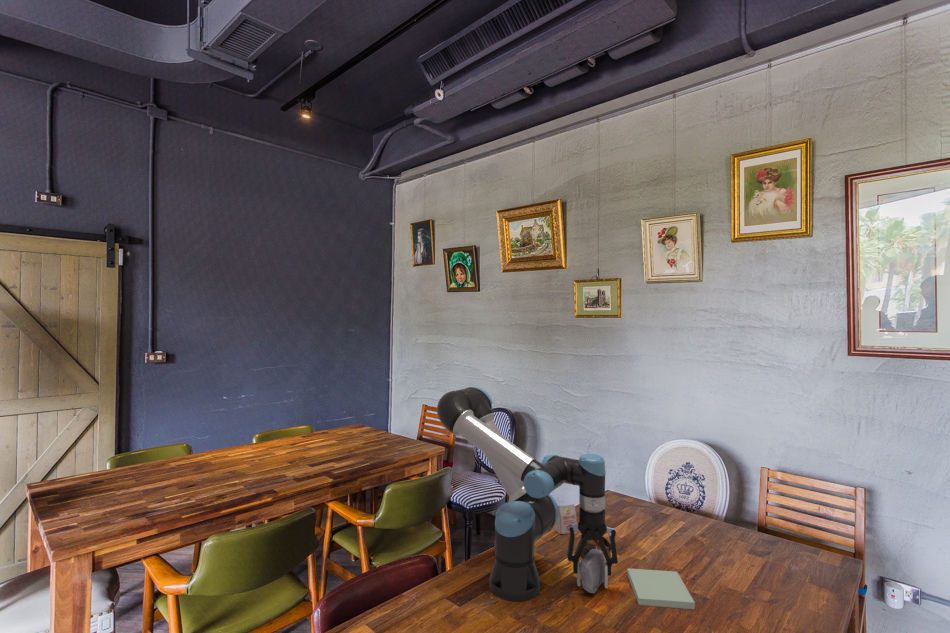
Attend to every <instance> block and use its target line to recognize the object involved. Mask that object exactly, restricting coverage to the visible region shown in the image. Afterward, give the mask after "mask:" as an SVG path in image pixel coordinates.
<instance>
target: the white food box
mask: <svg viewBox="0 0 950 633" xmlns="http://www.w3.org/2000/svg"><path fill="white" fill-rule="evenodd" d="M557 506H558V510H559V515H558V520H557V522H556V524H555V532H557V533H558V534H559V535H560V534H564V535H570V530H569V525H572V526H575V525H578V523H577V512H576V507H575V504H574V503H573V504H565V505H557Z"/></svg>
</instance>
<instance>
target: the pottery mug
mask: <svg viewBox="0 0 950 633" xmlns="http://www.w3.org/2000/svg"><path fill="white" fill-rule="evenodd" d="M602 539H603V542H604V545H605V547H606V550H607V552H608V555H609V558H611V557H612V552H611V545H610V540H608V539H607V538H606V537H605V536H604V535H603V536H602ZM591 549H599V550H601V551H602V549H601V546H600V544H599V541H595V540H587V542H586V544H585V546H584V548H583V551H582V553H581V556H580V557H581V558H582V559H583V558H584V557H585V556H586V554H587V553H588V552H589V551H590V550H591ZM602 552H603V551H602Z"/></svg>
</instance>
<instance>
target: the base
mask: <svg viewBox="0 0 950 633" xmlns="http://www.w3.org/2000/svg"><path fill="white" fill-rule="evenodd" d="M626 573H627V574H626V576H627V577H628V580H629V582H630V585H631V589H632V591H633V593H634V595H635V598H636V601H637V604H638V606H647V607H648V606H651V607H661V608H671V609H672V608H673V609H683V610H695V609H696V602H695V601H694V598H693V596H692V595H691V594H690V591H689V590H688V588H687V586H686V585H685V583H684V581H683V579H682V578H681V576H680V574H679V573H678V571H674V570H673V571H672V570H656V569H641V568H629V567H628V568H627V570H626Z"/></svg>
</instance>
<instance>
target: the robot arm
mask: <svg viewBox="0 0 950 633" xmlns="http://www.w3.org/2000/svg"><path fill="white" fill-rule="evenodd" d="M436 413H437V417H438V420H439V421H440V423H441V424H442V425H443V427H444V428H446V430H448V431H449V432H450V433H451V434H453V435H454V436H455V437H459V436H461V437H462V438H463V439H465V440H466V441H468V442H469V443H470V444H471V445H473V446H475V448H477V449H478V450H480V451H481V452H482V453H483V454H484V456H485V458H486V459H487V461H488V463H489V464H490V467H491V468H492V470H493V471H494V473H495V475H496V477H497V479H498V480H499V481H500V483H501V485H502V487H503V488H504V490H505V492H506V494H507V495H508V502H505V503H502V505H500V506H499V507H498V508H497V509H496V512H495V519H494V528H495V529H494V530H495V531H494V533H495V534H494V535H495V538H494V544H495V545H494V548H495V550H494V553H495V554H494V562H493V566H492V569H491V570H490V574H489V578H488V579H489V581H488V582H489V583H488V586H489V587H488V588H489V590H490V591H491V593H492V594H493V595H494V596H496V597H497V598H499V599H502V600H504V601H505V600H506V601H508V602H524V601H529V600H531V599H533V598H535V597H536V596H537V595H538V594H539V593H540V591H541V579H540V575H539V573H538V569H537V566H536V563H535V544H536V542H537V541H539V540H540V539H541V538H542V537H543V536H544V535H546V534H548V533H549V532H550V531H551V530H552V529H553V528H554V526H556V522H557V520H558V515H559V510H558V506H559V505H558V503H557V501H556V499H555V498H554V497H553V495H551V493H552V492H553V491H554V490H556V489H557V488H559V487H561V486H562V485H564V484H568V485H573V486H577V487H579V488H578V489H579V492H578V493H579V496H578V497H579V498H578V502H579V503H578V504H579V509H578V510H579V512H578V515H579V516H578V520H579V521H578V523H577V525H575V526H572V525H569V530H570V534H569V537H568V545H567V546H568V547H567V552H566V556H567V557H566V558H567V561H569V562H572V566H573V567H572V571H573V573H574V574H576V584H577V587H581V575H580V569H579V564H580V562H581V559H580V558H581V557H582V556H581V553H582V551H583V548H584V546H585V544H586V542H587V540H595V541H599V544H600V546H601V549H602V553H603V555H604V558H605V561H604V581H603V585H604V589H608V587H609V586H608V582H609V580H608V578H609V577H610V576H612V566H613V565H617V564H618V562H619V561H618V554H617V552H618V551H617V545H616V534H617V531H616V528H615V527H614V526H611V527H609V526H607V524H606V510H605V508H606V474H607V473H606V463H605V459H604V458H603V456H601V455H599V454H595V453H584V454H581V455H580V456H579V458H578V459H574V458H569V457H565V456H561V455H560V456H559V455H558V454H555V455H552V454H547V455H544V456H543V459H542V460H541V462H540V461H539V460H537V459H536V458H534V457H533V456H532V455H530V454H528V453H527V452H525V451H524V450H523V449H521V448H520V447H518V446H517V445H516V444H514V443H513V442H512V441H510V440H509V439H507V438H506V437H505V436H503V435H502V433H501V431H500V429H499V427H498V426H497V424H496V423H495V421H494V418H495V413H494V411H493V399H492V397H491V396H490V394H489V393H488V392H487V391H486V390H485V389H484V388H482V387H477V386H476V387H475V386H473V387H472V386H470V387H465V388H461V389H458V390H457V389H456V390H452V391H449V392H446V393H445V394H443V395H442V396H441V397H440V398H439V400H438V402H437V406H436ZM578 531H579V532H580V533H581V536H580V539H579V542H578V544H577V547H576V549H575V552H574V545H575V537H576V536H575V535H576V534H577V532H578ZM606 532H607V535H608V536H609V543H610V545H611V550H610V551H611V556H610V558H609V555H608V552H607V550H606V547H605V545H604V542H603V539H602V536H603V537H604V535H605V534H606ZM573 552H574V553H573Z"/></svg>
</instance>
